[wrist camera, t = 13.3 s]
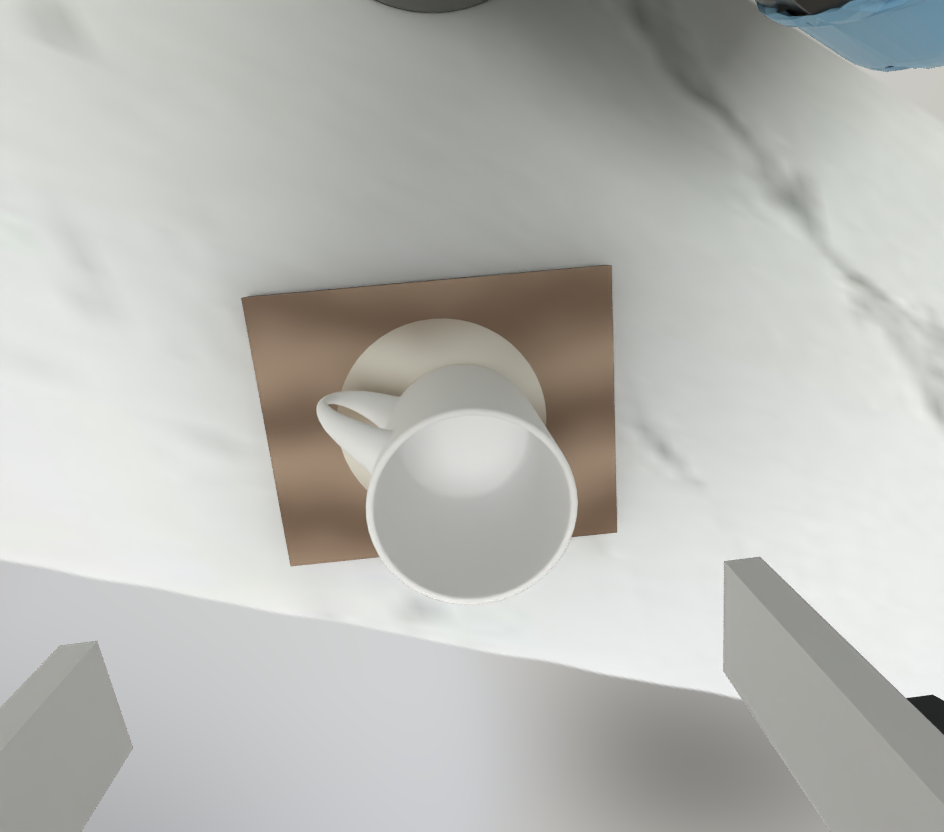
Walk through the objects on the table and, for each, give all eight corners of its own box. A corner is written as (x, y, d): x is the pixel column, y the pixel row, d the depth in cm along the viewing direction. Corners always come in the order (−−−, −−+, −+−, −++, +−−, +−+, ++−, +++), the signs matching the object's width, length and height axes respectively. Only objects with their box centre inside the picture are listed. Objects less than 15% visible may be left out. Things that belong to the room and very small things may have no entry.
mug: (370, 306, 32) (338, 330, 22) (562, 401, 34) (617, 464, 24) (307, 443, 34) (251, 525, 24) (493, 525, 36) (517, 634, 26)
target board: (248, 296, 33) (241, 298, 32) (605, 265, 33) (611, 265, 32) (295, 556, 37) (290, 566, 36) (611, 523, 38) (617, 532, 36)
